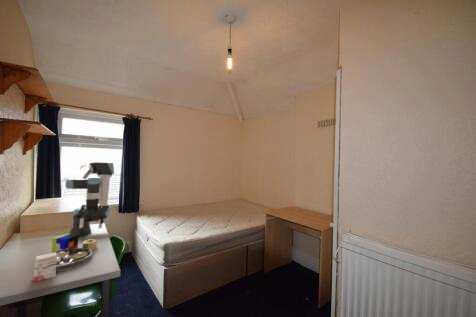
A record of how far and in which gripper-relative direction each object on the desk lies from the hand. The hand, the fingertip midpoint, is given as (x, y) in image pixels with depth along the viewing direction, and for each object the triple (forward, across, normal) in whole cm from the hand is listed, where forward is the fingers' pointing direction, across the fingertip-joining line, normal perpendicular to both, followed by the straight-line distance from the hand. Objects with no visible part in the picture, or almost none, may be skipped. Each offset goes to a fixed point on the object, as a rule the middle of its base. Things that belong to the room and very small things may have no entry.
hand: (90, 227), depth 148 cm
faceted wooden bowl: (+16, 0, 0) cm, 16 cm away
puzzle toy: (+16, -15, -3) cm, 22 cm away
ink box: (+16, +2, -37) cm, 40 cm away
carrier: (+16, -1, -19) cm, 24 cm away
